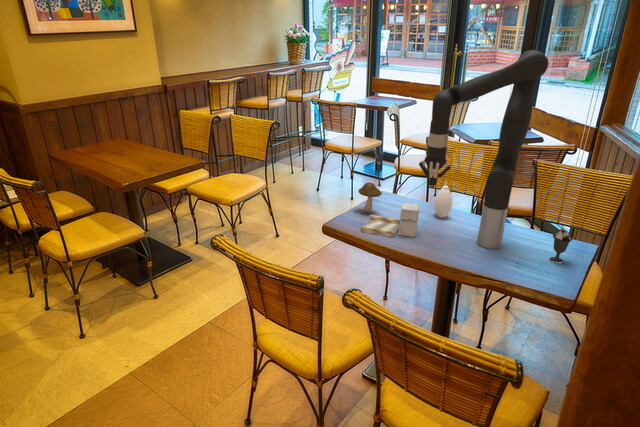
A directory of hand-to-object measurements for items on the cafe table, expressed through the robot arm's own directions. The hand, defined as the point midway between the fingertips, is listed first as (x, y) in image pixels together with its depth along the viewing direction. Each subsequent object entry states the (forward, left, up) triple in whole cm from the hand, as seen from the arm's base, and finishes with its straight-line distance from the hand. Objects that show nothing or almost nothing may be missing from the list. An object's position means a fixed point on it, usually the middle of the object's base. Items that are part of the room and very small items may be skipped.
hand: (432, 185), depth 175 cm
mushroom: (+30, -14, -23) cm, 41 cm away
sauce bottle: (-3, -23, -23) cm, 33 cm away
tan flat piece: (+20, 0, -23) cm, 30 cm away
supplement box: (+8, 0, -23) cm, 25 cm away
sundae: (-50, +1, -23) cm, 55 cm away
